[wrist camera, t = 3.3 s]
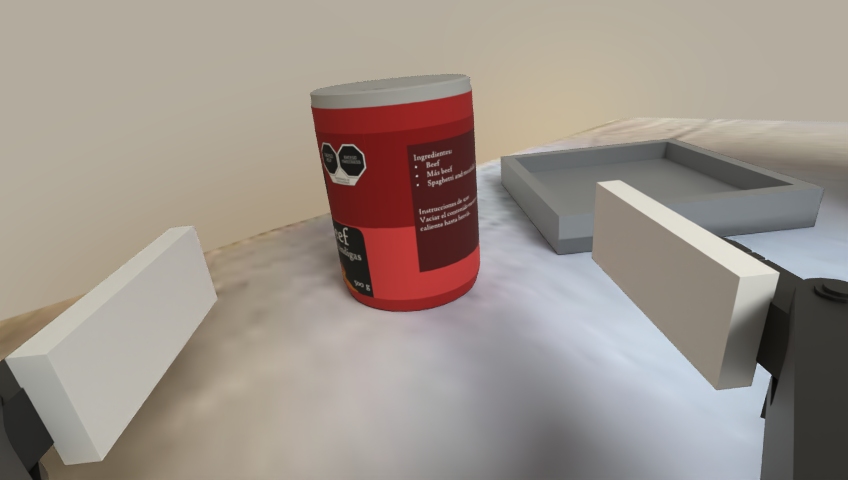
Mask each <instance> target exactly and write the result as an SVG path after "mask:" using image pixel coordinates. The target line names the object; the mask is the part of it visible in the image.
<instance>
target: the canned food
mask: <svg viewBox="0 0 848 480" xmlns="http://www.w3.org/2000/svg"><path fill="white" fill-rule="evenodd" d="M310 95H311V108H312V114H313V119H314V124H315V132H316V137H317V142H318V148H319V152H320V158H321V163H322V168H323V174H324V179H325V184H326V189H327V194H328V199H329V204H330V210H331V215H332V220H333V226H334V231H335V236H336V241H337V246H338V251H339V257H340V262H341V267H342V272H343V277H344V281H345V283H346V284H347V286H348V288H349V290H350V291H351V293H352V295H353V296H354V297H355V298H356V299H357V300H358V301H360V302H362V303H364V304H366V305H368V306H371V307H374V308H378V309H382V310H389V311H418V310H424V309H430V308H434V307H438V306H441V305H445V304H447V303H449V302H451V301H454V300H456V299H457V298H459V297H461V296H462V295H464V294H465V293H467V292H468V291H469V290H470V289H471V288H472V286H473V285H474V283H475V281H476V278H477V274H478V271H479V266H480V251H479V228H478V206H477V183H476V160H475V138H474V115H473V105H472V88H471V85H470V77H468V76H466V75H461V74H442V75H424V76H411V77H401V78H390V79H381V80H371V81H363V82H356V83H349V84H342V85H336V86H330V87H325V88H321V89H317V90H315V91H313V92H311V93H310Z"/></svg>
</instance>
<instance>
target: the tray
mask: <svg viewBox="0 0 848 480" xmlns="http://www.w3.org/2000/svg"><path fill="white" fill-rule="evenodd" d="M615 180H621V181H622V182H624V183H626V184H627V185H629V186H631V187H633V188H634V189H636V190H638V191H639V192H641V193H643V194H645V195H646V196H648V197H650V198H652V199H653V200H655V201H657V202H658V203H660V204H662V205H664V206H665V207H667V208H669V209H671V210H672V211H674V212H676V213H677V214H679V215H681V216H683V217H684V218H686V219H688V220H689V221H691V222H693V223H695V224H696V225H698V226H700V227H702V228H703V229H705V230H707V231H708V232H710V233H712V234H714V235H717V236H720V237H723V236H732V235H741V234H750V233H759V232H768V231H777V230H786V229H795V228H804V227H813V226H814V225H815V221H816V217H817V214H818V210H819V206H820V203H821V199H822V195H823V191H824V187H821V186H818V185H815V184H812V183H809V182H806V181H803V180H799V179H796V178H793V177H790V176H787V175H784V174H781V173H778V172H775V171H772V170H768V169H765V168H762V167H759V166H756V165H753V164H750V163H747V162H744V161H740V160H737V159H734V158H731V157H728V156H725V155H722V154H719V153H716V152H713V151H709V150H706V149H703V148H700V147H697V146H694V145H691V144H688V143H685V142H682V141H678V140H675V139H663V140H653V141H644V142H635V143H625V144H616V145H607V146H597V147H588V148H579V149H569V150H560V151H551V152H541V153H532V154H523V155H513V156H504V157H501V183H502V184H503V186H504V187H505V188H506V189H507V191H508V192H509V193H510V195H511V196H512V197H513V198H514V200H515V201H516V202H517V203H518V205H519V206H520V207H521V208H522V210H523V211H524V212H525V213H526V215H527V216H528V217H529V219H530V220H531V221H532V222H533V224H534V225H535V226H536V227H537V229H538V230H539V231H540V232H541V234H542V235H543V236H544V237H545V239H546V240H547V241H548V243H549V244H550V245H551V246H552V248H553V249H554V250H555V251H556V253H557V254H558V255H561V254H570V253H579V252H588V251H592V248H593V232H594V216H595V200H596V184H597V182H606V181H615Z"/></svg>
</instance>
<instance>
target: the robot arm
mask: <svg viewBox="0 0 848 480" xmlns="http://www.w3.org/2000/svg"><path fill="white" fill-rule="evenodd" d="M592 259H593V260H594V261H595V262H596V263H597V264H598V265H599V266H600V267H601V268H602V269H603V271H604V272H605V273H606V274H607V275H608V276H609V277H610V278H611V279H612V280H613V281H614V282H615V283H616V284H617V285H618V286H619V288H620V289H621V290H622V291H623V292H624V293H625V294H626V295H627V296H628V297H629V298H630V299H631V300H632V301H633V302H634V303H635V304H636V306H637V307H638V308H639V309H640V310H641V311H642V312H643V313H644V314H645V315H646V316H647V317H648V318H649V319H650V320H651V321H652V322H653V324H654V325H655V326H656V327H657V328H658V329H659V330H660V331H661V332H662V333H663V334H664V335H665V336H666V337H667V338H668V339H669V341H670V342H671V343H672V344H673V345H674V346H675V347H676V348H677V349H678V350H679V351H680V352H681V353H682V354H683V355H684V356H685V357H686V359H687V360H688V361H689V362H690V363H691V364H692V365H693V366H694V367H695V368H696V369H697V370H698V371H699V372H700V373H701V374H702V376H703V377H704V378H705V379H706V380H707V381H708V382H709V383H710V384H711V385H712V386H713V387H714V388H715V389H716V390H722V389H731V388H740V387H748V386H751V385H752V381H753V377H754V373H755V369H756V365H757V362H758V363H759V364H760V365H761V366H762V367H764V368H765V369H766V370H767V371H768V372H769V373H770V374H772V376H771V379H770V383H769V387H768V390H767V394H766V398H765V402H764V405H763V409H762V413H761V416H760V417H761V418H764V419H765V429H764V441H763V454H762V466H761V478H760V480H848V282H846V281H842V280H837V279H827V278H809V279H805V280H803V279H802V278H800V277H798V276H796V275H794V274H793V273H791V272H789V271H787V270H786V269H784V268H782V267H780V266H778V265H777V264H775V263H773V262H771V261H770V260H765V258H764V257H762V256H761V255H759V254H757V253H755V252H753V253H752V250H750V249H748V248H746V247H745V246H743V245H741V244H739V243H738V242H736V241H732V240H729V239H726V238H723V237H720V236H717V235H714V234H712V233H710V232H708V231H707V230H705V229H703V228H702V227H700V226H698V225H696V224H695V223H693V222H691V221H689V220H688V219H686V218H684V217H683V216H681V215H679V214H677V213H676V212H674V211H672V210H671V209H669V208H667V207H665V206H664V205H662V204H660V203H658V202H657V201H655V200H653V199H652V198H650V197H648V196H646V195H645V194H643V193H641V192H639V191H638V190H636V189H634V188H633V187H631V186H629V185H627V184H626V183H624V182H622V181H621V180H615V181H606V182H597V184H596V200H595V216H594V232H593V248H592ZM216 301H217V296H216V293H215V289H214V286H213V283H212V280H211V277H210V274H209V270H208V267H207V264H206V261H205V258H204V255H203V252H202V249H201V245H200V242H199V239H198V236H197V233H196V230H195V227H194V225H192V226H183V227H173V228H170V229H168V230H167V231H166V232H164V233H163V234H162V235H161V236H159V237H158V238H157V239H156V240H154V241H153V242H152V243H151V244H149V245H148V246H147V247H145V248H144V249H143V250H142V251H140V252H139V253H138V254H137V255H135V256H134V257H133V258H131V259H130V260H129V261H128V262H127V263H125V264H124V265H123V266H121V267H120V268H119V269H118V270H116V271H115V272H114V273H112V274H111V275H110V276H109V277H107V278H106V279H105V280H104V281H102V282H101V283H100V284H98V285H97V286H96V287H95V288H94V289H92V290H91V291H90V292H88V293H87V294H86V295H85V296H83V297H82V298H81V299H79V300H78V301H77V302H76V303H74V304H73V305H72V306H71V307H69V308H68V309H67V310H66V311H64V312H63V313H62V314H60V315H59V316H58V317H56V318H55V319H54V320H53V321H51V322H50V323H49V324H47V325H46V326H45V327H44V328H42V329H41V330H40V331H39V332H38V333H36V334H35V335H33V336H32V337H31V338H30V339H28V340H27V341H26V342H25V343H23V344H22V345H21V346H20V347H18V348H17V349H16V350H14V351H13V352H12V353H11V354H9V355H8V356H7V357H6V358H4V359H3V360H2V361H0V480H48V474H47V472H46V470H45V468H44V467H43V465H42V463H41V462H40V458H41V457H42V456H43V455H44V454H45V453H46V452H47V450H48V449H49V448H50V447H51V446H52V445H54V447H55V448H56V450H57V452H58V454H59V455H60V457H61V459H62V461H63V462H64V464H65V465H72V464H80V463H89V462H98V461H102V460H103V459H104V457H105V456H106V455H107V453H108V452H109V450H110V449H111V448H112V446H113V445H114V443H115V442H116V441H117V439H118V438H119V436H120V435H121V434H122V432H123V431H124V429H125V428H126V427H127V425H128V424H129V422H130V421H131V420H132V418H133V417H134V415H135V414H136V413H137V411H138V410H139V408H140V407H141V406H142V404H143V403H144V401H145V400H146V399H147V397H148V396H149V394H150V393H151V392H152V390H153V389H154V387H155V386H156V385H157V383H158V382H159V380H160V379H161V378H162V376H163V375H164V373H165V372H166V371H167V369H168V368H169V366H170V365H171V364H172V362H173V361H174V359H175V358H176V357H177V355H178V354H179V352H180V351H181V350H182V348H183V347H184V345H185V344H186V343H187V341H188V340H189V338H190V337H191V336H192V334H193V333H194V331H195V330H196V329H197V327H198V326H199V324H200V323H201V322H202V320H203V319H204V317H205V316H206V315H207V313H208V312H209V310H210V309H211V308H212V306H213V305H214V303H215V302H216Z"/></svg>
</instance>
